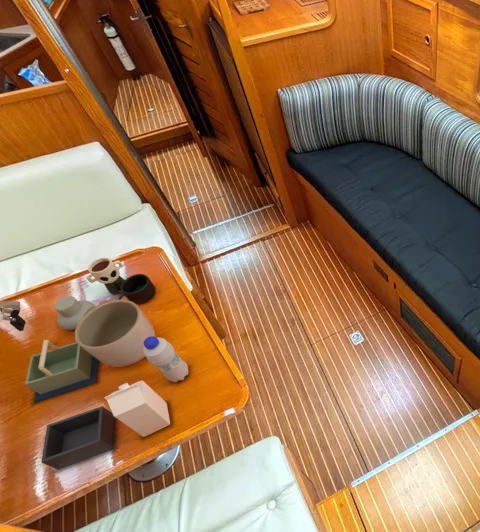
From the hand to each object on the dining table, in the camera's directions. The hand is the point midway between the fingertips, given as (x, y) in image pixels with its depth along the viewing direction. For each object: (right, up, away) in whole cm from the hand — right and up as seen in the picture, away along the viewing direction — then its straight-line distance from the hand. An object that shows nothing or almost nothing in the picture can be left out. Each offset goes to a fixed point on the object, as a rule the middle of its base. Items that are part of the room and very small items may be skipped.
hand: (0, 332), depth 101 cm
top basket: (+1, -15, +19) cm, 24 cm away
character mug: (+1, +9, +41) cm, 42 cm away
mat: (+1, -15, +19) cm, 25 cm away
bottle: (+35, -16, +19) cm, 43 cm away
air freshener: (-5, -1, +32) cm, 33 cm away
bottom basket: (+18, -31, +6) cm, 36 cm away
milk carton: (+34, -26, +10) cm, 44 cm away
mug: (+11, +5, +38) cm, 40 cm away
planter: (+17, -10, +25) cm, 32 cm away
